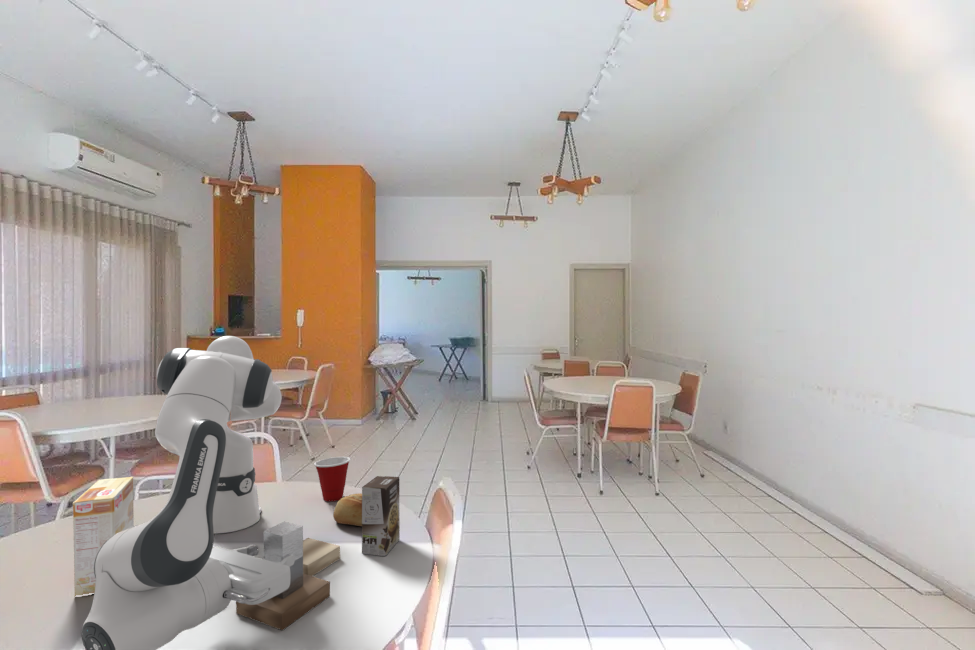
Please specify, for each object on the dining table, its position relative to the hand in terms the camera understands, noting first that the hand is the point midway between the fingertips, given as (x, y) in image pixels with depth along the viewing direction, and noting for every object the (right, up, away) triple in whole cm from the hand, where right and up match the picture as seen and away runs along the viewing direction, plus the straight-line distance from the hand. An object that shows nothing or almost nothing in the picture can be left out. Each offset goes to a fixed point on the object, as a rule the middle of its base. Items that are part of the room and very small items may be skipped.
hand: (273, 553), depth 94 cm
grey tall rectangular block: (+1, -8, +3) cm, 9 cm away
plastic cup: (-7, -11, +60) cm, 61 cm away
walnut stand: (+1, -11, +3) cm, 12 cm away
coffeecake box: (-42, -11, +13) cm, 45 cm away
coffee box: (+15, -11, +27) cm, 33 cm away
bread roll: (+6, -11, +41) cm, 43 cm away
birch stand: (0, -11, +19) cm, 22 cm away
